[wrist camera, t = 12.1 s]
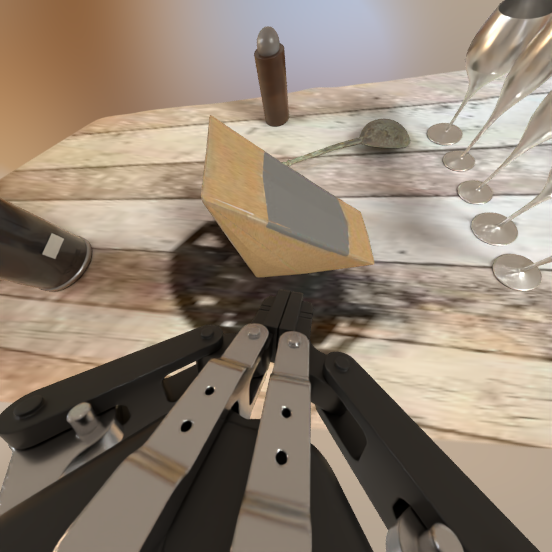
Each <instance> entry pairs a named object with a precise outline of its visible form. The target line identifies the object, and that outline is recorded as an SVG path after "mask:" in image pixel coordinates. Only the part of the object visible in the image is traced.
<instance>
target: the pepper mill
mask: <svg viewBox="0 0 552 552" xmlns="http://www.w3.org/2000/svg"><path fill="white" fill-rule="evenodd" d="M254 56H255V62H256V67H257V73H258V79H259V84H260V90H261V97H262V102H263V108H264V114H265V120H266V123H267V124H268V125H270V126H280V125H283V124H284V123H286V122H287V121H288V119H289V110H288V96H287V82H286V68H285V55H284V46H283V45H282V44H280V43H279V37H278V35H277V33H276V31H275V30H274V29H273V28H272V27H264V28H263V29H262V30H261V31H260V33H259V35H258V38H257V50H256V51H255V53H254Z"/></svg>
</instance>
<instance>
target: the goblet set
mask: <svg viewBox="0 0 552 552" xmlns="http://www.w3.org/2000/svg"><path fill="white" fill-rule="evenodd" d="M465 62H466V64H465V66H466V71H467V75H468V80H469V87H468V91H467V94H466V96H465V98H464V101H463V102H462V104H461V106H460V108H459V109H458V111H457V113H456V114H455V116H454V117H453V119H452V121H451V122H450V124H449V123H439V124H436V125H433V126H432V127H430V128H429V130H428V132H427V135H428V138H429V139H430V140H431V141H433V142H434V143H437V144H440V145H451V144H454V143H456V142H458V141H459V140H460V139H461V138H462V131H461V129H460V128H458V127H457V126H455V125H453V122H454V121H455V119H456V118H457V116H458V115H459V113H460V112H461V110H462V109H463V107H464V106H465V105H466V103H467V102H468V101H469V100H470V98H471V97H472V96H473V95H474V94H475V93H476V92H477V91H478V90H479V89H481V88H482V87H483V86H485V85H486V84H488V83H490V82H492V81H494V80H496V79H498V78H500V77H502V76H504V75H505V74H507V73H508V75H507V78H506V80H505V82H504V85H503V87H502V90H501V93H500V96H499V99H498V101H497V104H496V106H495V109H494V111H493V113H492V115H491V116H490V118H489V120H488V121H487V123H486V124H485V125H484V127H483V128H482V130H481V131H480V132H479V134H478V135H477V136H476V138H475V139H474V140H473V141H472V143H471V144H470V145H469V147H468V148H467V149H466V150H465V152H463V151H452V152H449V153H447V154H446V155H445V156H444V158H443V163H444V164H445V166H446V167H448V168H449V169H451V170H454V171H466V170H469V169H471V168H472V167H473V166H474V164H475V160H474V158H473V157H472V156H471V155H470V154H469V153H467V152H468V151H469V150H470V148H471V147H472V146H473V145H474V144H475V142H476V141H477V140H478V139H479V138H480V137H481V136H482V134H483V133H484V132H485V131H486V130H487V129H488V128H489V127H490V126H491V124H492V123H493V122H494V121H495V120H496V119H497V118H499V117H500V116H501V115H502V114H503V113H504V112H506V111H507V110H508V109H509V108H511V107H512V106H514V105H515V104H516V103H518V102H519V101H521V100H522V99H523V98H525V97H526V96H528V95H529V94H530V93H532V92H533V91H535V90H536V89H537V88H538V87H540V86H541V85H542V84H543V83H545V82H546V81H547V80H548V79H549V78H550V77H551V76H552V0H505V1H503V2H502V3H500V4H499V6H498V7H497V8H496V9H495V11H494V12H493V13H492V14H491V15H490V17H489V18H488V19H487V21H486V22H485V23H484V24H483V26H482V27H481V28H480V30H479V31H478V33H477V34H476V36H475V37H474V39H473V41H472V43H471V45H470V47H469V49H468V52H467V55H466V61H465ZM551 138H552V90H551V91H550V92H549V94H548V95H547V96H546V97H545V98H544V100H543V101H542V102H541V104H540V105H539V106H538V108H537V109H536V111H535V112H534V114H533V115H532V117H531V119H530V121H529V123H528V125H527V127H526V129H525V132H524V134H523V136H522V138H521V140H520V142H519V144H518V145H517V147H516V148H515V150H514V151H513V152H512V154H511V155H510V156H509V157H508V158H507V159H506V161H505V162H504V163H503V164H502V165H501V166H500V167H499V168H498V169H497V170H496V171H495V172H494V173H493V174H492V175H491V176H490V177H489V178H488V179H486V180H485V181H484V182H480V181H474V180H471V181H466V182H463V183H462V184H461V185H460V186H459V187H458V194H459V196H460V197H461V198H462V199H463V200H464V201H466V202H468V203H472V204H484V203H487V202H488V201H490V200H491V198H492V196H493V192H492V190H491V188H490V187H489V186H488V185H486V183H487V182H488V181H490V180H491V179H492V178H493V177H494V176H495V175H496V174H497V173H499V172H500V171H501V170H502V169H503V168H504V167H506V166H507V165H508V164H509V163H511V162H512V161H513V160H514V159H516V158H517V157H519V156H520V155H521V154H523V153H524V152H526V151H528V150H529V149H531V148H533V147H535V146H537V145H539V144H541V143H543V142H545V141H547V140H549V139H551ZM551 198H552V167H551V170H550V173H549V177H548V180H547V183H546V185H545V187H544V189H543V190H542V192H541V193H540V194H539V195H538V196H537V197H536V198H535V199H533V200H532V201H531V202H529V203H528V204H527V205H525V206H524V207H523V208H521V209H520V210H518V211H517V212H515V213H514V214H512V215H511V216H509V217H508V218H507V217H505V216H503V215H501V214H497V213H483V214H480V215H478V216H476V217H475V218H474V219H473V221H472V224H471V227H472V231H473V233H474V234H475V235H476V236H477V237H478V238H479V239H480V240H482V241H483V242H485V243H488V244H491V245H497V246H502V245H507V244H510V243H512V242H513V241H514V240H515V239H516V238H517V235H518V231H517V227H516V226H515V224H514V223H513V222H512V221H511V220H512V219H514V218H515V217H517V216H519V215H520V214H522V213H524V212H525V211H527V210H529V209H530V208H532V207H534V206H536V205H538V204H540V203H542V202H544V201H546V200H549V199H551ZM550 262H552V256H550V257H548V258H546V259H544V260H541V261H539V262H536V263H533V262H532V261H531V260H529V259H527V258H525V257H523V256H520V255H516V254H505V255H502V256H500V257H498V258H497V259H496V260H495V261H494V263H493V272H494V274H495V276H496V277H497V279H498V280H499V281H500V282H501V283H503V284H504V285H505V286H507V287H509V288H512V289H515V290H519V291H529V290H533V289H535V288H536V287H538V286H539V285H540V283H541V280H542V275H541V272H540V270H539V268H538V267H537V266H540V265H543V264H547V263H550Z"/></svg>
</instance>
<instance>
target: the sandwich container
mask: <svg viewBox="0 0 552 552" xmlns="http://www.w3.org/2000/svg"><path fill="white" fill-rule="evenodd" d="M201 198H202V201H203V204H204V205H205V206H206V208H207V209H208V211H209V212H210V213H211V215H212V216H213V218H214V219H215V220H216V222H217V223H218V225H219V226H220V227H221V229H222V230H223V232H224V233H225V234H226V236H227V237H228V239H229V240H230V241H231V243H232V244H233V246H234V247H235V248H236V250H237V251H238V253H239V254H240V255H241V257H242V258H243V259H244V261H245V262H246V264H247V265H248V266H249V268H250V269H251V271H252V272H253V273H254V275H255V276H256V277H269V276H282V275H294V274H305V273H312V272H320V271H327V270H335V269H342V268H350V267H358V266H365V265H373V264H374V259H373V255H372V250H371V246H370V241H369V237H368V233H367V230H366V227H365V224H364V221H363V218H362V215H361V212H360V211H358V210H357V209H355V208H353V207H352V206H350V205H348V204H347V203H345V202H343V201H342V200H340V199H338V198H337V197H335V196H334V195H332V194H330V193H329V192H327V191H326V190H324V189H322V188H321V187H319V186H318V185H316V184H314V183H313V182H311V181H310V180H308V179H307V178H305V177H304V176H302V175H301V174H299V173H298V172H296V171H294V170H293V169H291V168H289V167H288V166H286V165H285V164H283V163H282V162H280V161H279V160H277V159H276V158H274V157H272V156H271V155H269V154H268V153H266V152H265V151H264V150H262V149H261V148H259V147H257V146H256V145H254V144H253V143H251V142H250V141H248V140H247V139H245V138H244V137H242V136H241V135H239V134H238V133H236V132H235V131H233V130H232V129H230V128H229V127H228V126H226V125H225V124H223V123H222V122H220V121H219V120H217V119H216V118H214V117H213V116H211V115H210V117H209V127H208V138H207V148H206V157H205V165H204V173H203V181H202V189H201Z"/></svg>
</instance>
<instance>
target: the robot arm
mask: <svg viewBox="0 0 552 552" xmlns="http://www.w3.org/2000/svg"><path fill="white" fill-rule="evenodd" d="M91 257H92V248H91V245H90V243H89V242H88V241H87V240H86V239H84V238H82V237H79V236H76V235H74V234H72V233H70V232H68V231H66V230H64V229H62V228H60V227H58V226H56V225H54V224H52V223H50V222H48V221H46V220H44V219H42V218H40V217H38V216H36V215H34V214H32V213H30V212H28V211H26V210H24V209H22V208H20V207H18V206H16V205H14V204H12V203H10V202H8V201H6V200H4V199H2V198H0V279H1V280H5V281H10V282H14V283H18V284H23V285H27V286H32V287H36V288H39V289H41V290H46V291H59V290H62V289H65V288H67V287H68V286H70V285H72V284H73V283H74V282H76V281H77V280H78V279H79V278H80V277H81V276H82V275H83V273H84V272H85V271H86V269H87V267H88V265H89V263H90V261H91ZM302 300H303V293H299V292H291V291H286V290H279V291H278V293H277V295H276V297H274V296H269V297H267V298H266V299H264V301H263V303H262V305H261V306H260V308H259V310H258V312H257V314H256V315H255V317H254V319H253V321H252V323H251V324H248V325H246V326H244V327H243V328H242V329H241V330H240V332H239V333H230V334H223V331H222V329H221V328H220V327H219V326H217V325H205V326H202V327H199V328H197V329H194V330H191V331H189V332H186V333H184V334H181V335H178V336H176V337H173V338H171V339H168V340H165V341H163V342H160V343H158V344H155V345H152V346H150V347H147V348H145V349H142V350H139V351H137V352H134V353H132V354H129V355H127V356H124V357H121V358H119V359H116V360H114V361H111V362H108V363H106V364H103V365H101V366H98V367H95V368H93V369H90V370H88V371H85V372H82V373H80V374H77V375H75V376H72V377H69V378H67V379H64V380H62V381H59V382H56V383H54V384H51V385H49V386H46V387H43V388H41V389H38V390H36V391H33V392H31V393H29V394H27V395H25V396H23V397H22V398H20V399H18V400H17V401H15V402H14V403H13V404H11V405H10V406H9V407H8V408H6V409H5V410H4V411H3V412H2V413H1V414H0V436H1V437H2V438H3V439H4V440H5V441H6V442H7V443H8V444H9V447H10V449H11V450H12V452H13V453H12V457H11V460H10V463H9V466H8V470H7V473H6V476H5V479H4V482H3V485H2V489H1V492H0V552H373V550H372V548H371V546H370V544H369V542H368V540H367V538H366V536H365V534H364V532H363V530H362V528H361V526H360V524H359V522H358V520H357V518H356V516H355V514H354V512H353V510H352V508H351V506H350V504H349V502H348V500H347V498H346V496H345V494H344V492H343V490H342V488H341V486H340V484H339V482H338V480H337V478H336V476H335V474H334V472H333V470H332V468H331V467H330V465H329V464H328V462H327V460H326V459H325V458H324V457H323V455H322V454H321V453H320V452H319V450H318V449H317V448H316V447H315V446H314V445H312V444H311V443H310V431H311V402H312V403H314V404H315V406H316V410H317V412H318V413H319V415H320V417H321V419H322V420H323V422H324V424H325V425H326V427H327V429H328V430H329V432H330V434H331V435H332V437H333V439H334V440H335V442H336V444H337V445H338V447H339V448H340V450H341V452H342V454H343V455H344V457H345V459H346V460H347V462H348V464H349V465H350V467H351V469H352V470H353V472H354V474H355V475H356V477H357V479H358V480H359V482H360V484H361V485H362V487H363V489H364V490H365V492H366V494H367V495H368V497H369V499H370V501H371V502H372V504H373V505H374V507H375V509H376V510H377V512H378V514H379V516H380V517H381V519H382V521H383V522H384V524H385V526H386V527H387V529H388V533H387V536H386V552H540V551H539V550H538V549H537V548H536V547H535V546H534V545H533V544H532V543H531V542H530V541H529V540H528V539H527V538H526V537H525V536H524V535H523V534H522V533H521V532H520V531H519V529H518V528H517V527H515V525H514V524H513V523H512V522H511V521H510V520H509V519H508V518H507V517H506V516H505V515H504V514H503V513H502V512H501V511H500V510H499V509H498V508H497V507H496V506H495V505H494V504H493V503H492V502H491V501H490V499H489V498H488V497H487V496H486V495H485V494H484V493H483V492H482V491H481V490H480V489H479V488H478V487H477V486H476V485H475V484H474V483H473V482H472V481H471V480H470V479H469V478H468V477H467V476H466V475H465V474H464V473H463V472H462V471H461V469H460V468H459V467H458V466H457V465H456V464H455V463H454V462H453V461H452V460H451V459H450V458H449V457H448V456H447V455H446V454H445V453H444V452H443V451H442V450H441V449H440V448H439V447H438V446H437V445H436V444H435V443H434V442H433V440H432V439H431V438H430V437H429V436H428V435H427V434H426V433H425V432H424V431H423V430H422V429H421V428H420V427H419V426H418V425H417V424H416V423H415V422H414V421H413V420H412V419H411V418H410V417H409V416H408V415H407V414H406V413H405V412H404V410H403V409H402V408H401V407H400V406H399V405H398V404H397V403H396V402H395V401H394V400H393V399H392V398H391V397H390V396H389V395H388V394H387V393H386V392H385V391H384V390H383V389H382V388H381V387H380V386H379V385H378V384H377V383H376V382H375V380H374V379H373V378H372V377H371V376H370V375H369V374H368V373H367V372H366V371H365V370H364V369H363V368H362V367H361V366H360V365H359V364H358V363H357V362H356V361H355V360H354V359H353V358H352V357H351V356H349V355H347V354H345V353H342V352H331V353H329V354H328V355H326V354H324V353H322V352H320V351H318V350H317V349H316V348H314V346H313V345H312V344H311V342H310V332H311V324H312V315H313V306H312V305H311V303H310V302H304V301H302ZM195 361H196V365H194V366H192V367H190V368H188V369H186V370H183V371H181V372H179V373H177V374H175V375H173V376H171V377H169V378H164V377H165V376H167V375H168V374H170V373H172V372H174V371H176V370H178V369H180V368H182V367H184V366H186V365H188V364H190V363H193V362H195ZM270 362H273V363H274V367H273V372H272V374H271V375H270V378H269V383H268V388H267V392H266V397H265V402H264V406H263V411H262V415H261V419H250V416H251V412H252V409H253V407H254V405H255V402H256V400H257V397H258V395H259V392H260V390H261V388H262V385H263V383H264V380H265V378H266V375H267V370H268V367H269V364H270Z"/></svg>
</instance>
